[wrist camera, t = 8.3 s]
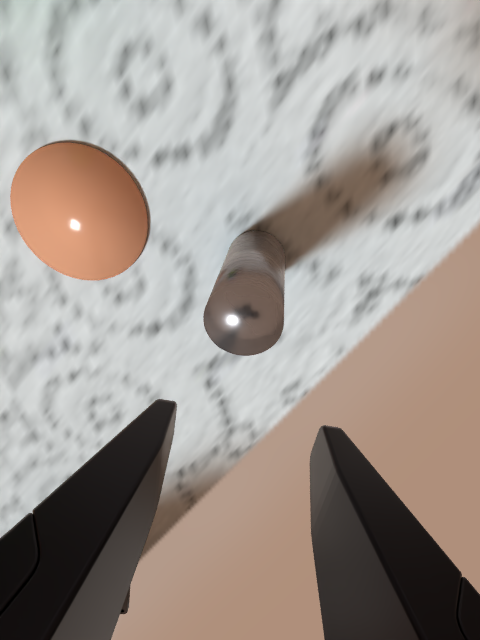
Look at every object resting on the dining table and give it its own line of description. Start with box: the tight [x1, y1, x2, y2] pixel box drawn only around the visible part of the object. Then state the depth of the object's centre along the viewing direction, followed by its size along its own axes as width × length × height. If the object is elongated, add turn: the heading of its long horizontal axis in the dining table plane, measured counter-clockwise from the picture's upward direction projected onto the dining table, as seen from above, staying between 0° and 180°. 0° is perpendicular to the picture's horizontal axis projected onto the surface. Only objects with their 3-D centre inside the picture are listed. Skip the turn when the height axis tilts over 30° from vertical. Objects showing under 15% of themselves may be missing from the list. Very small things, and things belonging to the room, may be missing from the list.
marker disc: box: [10, 143, 148, 280], centre depth 18 cm, size 6×6×1 cm
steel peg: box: [204, 230, 285, 356], centre depth 16 cm, size 3×3×6 cm
